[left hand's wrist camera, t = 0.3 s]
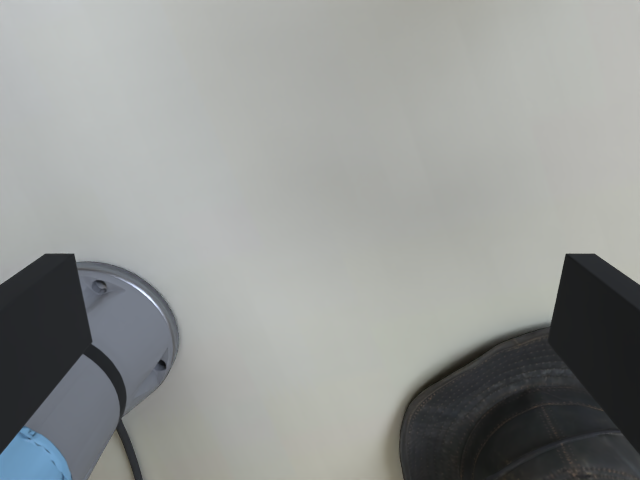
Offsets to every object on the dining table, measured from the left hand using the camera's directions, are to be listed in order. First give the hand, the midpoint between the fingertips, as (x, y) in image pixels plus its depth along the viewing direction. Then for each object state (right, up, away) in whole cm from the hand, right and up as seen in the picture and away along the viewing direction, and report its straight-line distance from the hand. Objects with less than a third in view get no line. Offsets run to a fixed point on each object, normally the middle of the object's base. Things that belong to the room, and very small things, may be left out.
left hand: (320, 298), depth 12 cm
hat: (+25, -22, +39) cm, 51 cm away
